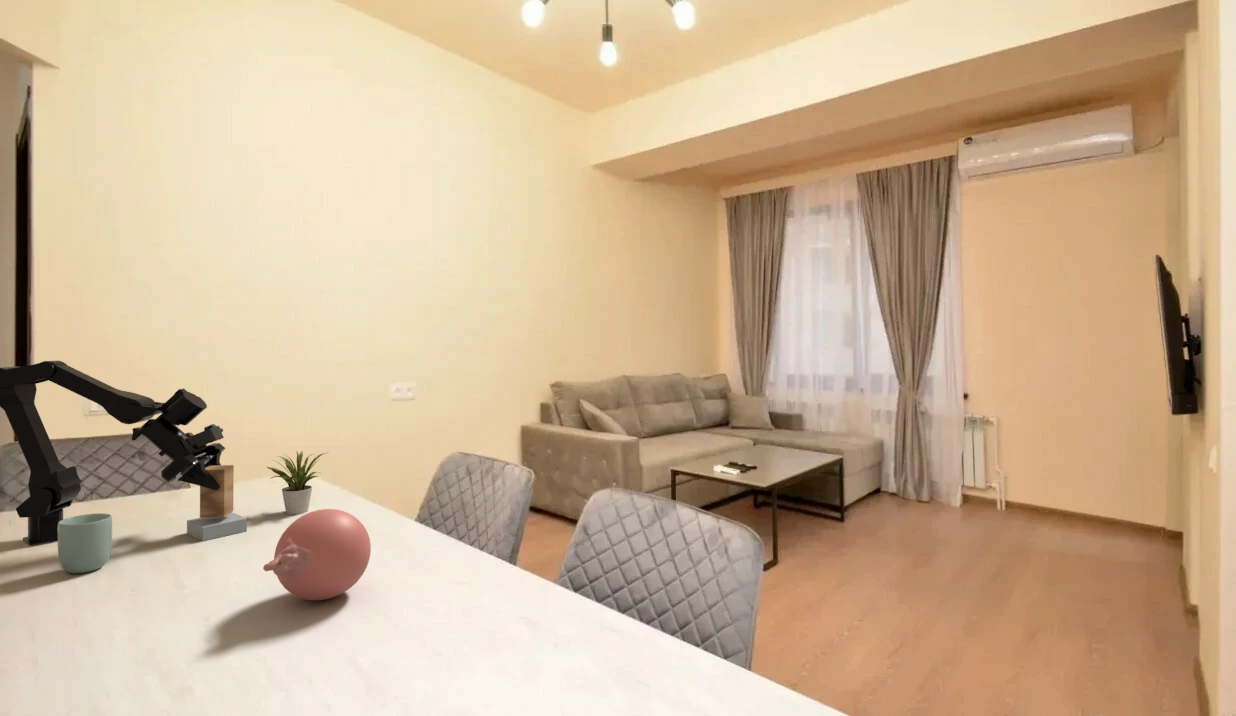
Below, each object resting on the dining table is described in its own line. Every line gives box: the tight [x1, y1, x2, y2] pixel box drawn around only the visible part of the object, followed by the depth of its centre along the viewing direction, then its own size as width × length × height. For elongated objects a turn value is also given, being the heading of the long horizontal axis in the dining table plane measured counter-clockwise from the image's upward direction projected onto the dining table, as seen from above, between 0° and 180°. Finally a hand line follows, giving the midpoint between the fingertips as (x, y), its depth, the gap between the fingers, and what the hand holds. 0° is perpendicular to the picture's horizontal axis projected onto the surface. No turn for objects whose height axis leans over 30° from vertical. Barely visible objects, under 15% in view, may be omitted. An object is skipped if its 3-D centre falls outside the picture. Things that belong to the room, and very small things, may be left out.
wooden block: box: [199, 464, 235, 518], centre depth 140 cm, size 5×5×11 cm
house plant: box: [266, 450, 330, 515], centre depth 159 cm, size 14×14×16 cm
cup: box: [57, 512, 113, 574], centre depth 117 cm, size 8×8×10 cm
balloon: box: [262, 508, 372, 601], centre depth 105 cm, size 15×20×15 cm
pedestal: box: [186, 512, 248, 542], centre depth 141 cm, size 9×9×3 cm
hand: (223, 486), depth 141 cm, fingers closed on wooden block, 5 cm apart
